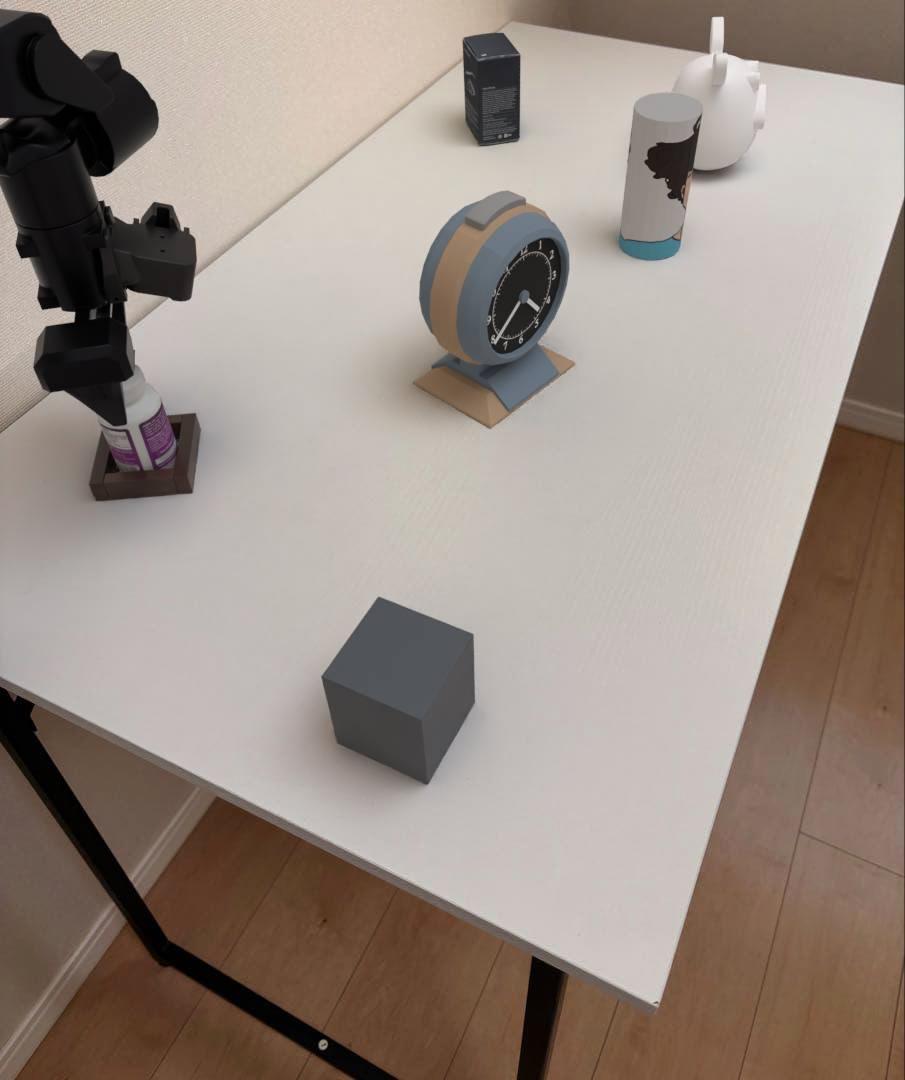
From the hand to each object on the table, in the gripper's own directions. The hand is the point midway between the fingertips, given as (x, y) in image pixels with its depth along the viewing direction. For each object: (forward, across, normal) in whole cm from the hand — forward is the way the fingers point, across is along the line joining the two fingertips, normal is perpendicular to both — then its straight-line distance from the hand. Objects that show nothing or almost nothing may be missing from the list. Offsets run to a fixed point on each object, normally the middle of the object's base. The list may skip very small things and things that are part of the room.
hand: (121, 388), depth 76 cm
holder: (+8, 0, 0) cm, 9 cm away
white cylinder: (+8, +23, -55) cm, 60 cm away
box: (+8, +54, -44) cm, 71 cm away
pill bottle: (+9, 0, 0) cm, 9 cm away
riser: (+9, -31, -17) cm, 36 cm away
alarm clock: (+9, +5, -32) cm, 34 cm away
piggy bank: (+8, +39, -68) cm, 79 cm away
